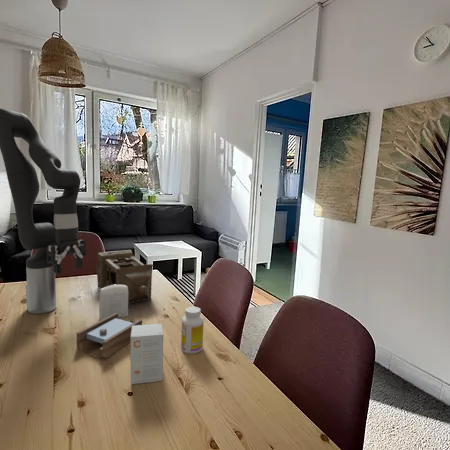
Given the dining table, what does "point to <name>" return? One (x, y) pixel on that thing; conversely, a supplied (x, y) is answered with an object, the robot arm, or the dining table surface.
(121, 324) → the lid
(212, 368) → the dining table surface
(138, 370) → the small box
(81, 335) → the box
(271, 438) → the dining table surface
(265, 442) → the dining table surface
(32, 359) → the dining table surface
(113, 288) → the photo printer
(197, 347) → the supplement bottle
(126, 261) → the ornamental box
